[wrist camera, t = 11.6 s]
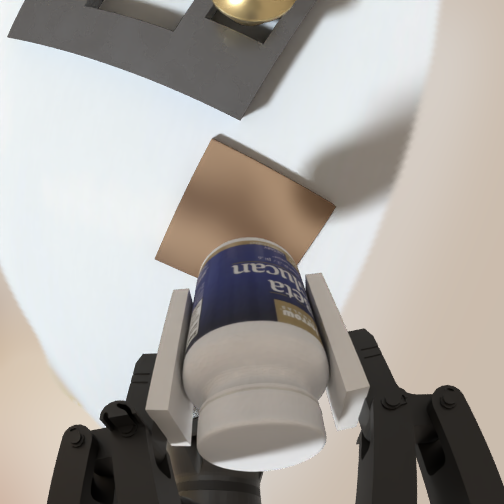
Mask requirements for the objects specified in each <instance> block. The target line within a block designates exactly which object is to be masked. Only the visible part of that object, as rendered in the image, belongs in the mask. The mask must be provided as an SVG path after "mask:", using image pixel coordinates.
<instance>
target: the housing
mask: <svg viewBox="0 0 504 504" xmlns="http://www.w3.org/2000/svg"><path fill="white" fill-rule="evenodd" d="M102 1H103V0H25V1H24V3H23V5H22V7H21V9H20V11H19V13H18V15H17V17H16V19H15V21H14V23H13V25H12V27H11V29H10V32H9V34H8V36H7V37H9V38H14V39H19V40H23V41H28V42H33V43H37V44H41V45H45V46H49V47H53V48H57V49H60V50H64V51H68V52H71V53H74V54H78V55H81V56H84V57H88V58H91V59H94V60H97V61H100V62H103V63H106V64H109V65H112V66H115V67H118V68H120V69H123V70H126V71H129V72H131V73H134V74H137V75H139V76H142V77H145V78H147V79H150V80H152V81H155V82H157V83H160V84H162V85H164V86H167V87H169V88H172V89H174V90H176V91H179V92H181V93H183V94H185V95H188V96H190V97H192V98H194V99H197V100H199V101H201V102H203V103H205V104H207V105H209V106H212V107H214V108H216V109H218V110H220V111H222V112H224V113H226V114H228V115H230V116H232V117H234V118H236V119H238V120H241V118H242V117H243V115H244V113H245V112H246V110H247V108H248V106H249V105H250V103H251V101H252V100H253V98H254V96H255V95H256V93H257V91H258V89H259V88H260V86H261V85H262V83H263V81H264V80H265V78H266V76H267V75H268V73H269V71H270V70H271V68H272V67H273V65H274V63H275V62H276V60H277V59H278V57H279V56H280V54H281V53H282V51H283V49H284V48H285V46H286V45H287V43H288V42H289V40H290V39H291V37H292V36H293V34H294V33H295V31H296V30H297V28H298V27H299V25H300V24H301V22H302V21H303V19H304V18H305V17H306V15H307V14H308V12H309V11H310V9H311V8H312V7H313V5H314V4H315V2H316V1H317V0H296V1H295V3H294V4H293V6H292V7H291V8H290V10H289V11H288V12H287V13H286V14H284V15H283V16H282V17H281V18H280V20H279V21H278V23H277V24H276V26H275V27H274V29H273V30H272V32H271V33H270V35H269V36H268V38H267V39H266V41H265V42H264V44H262V43H260V42H258V41H256V40H254V39H252V38H250V37H248V36H246V35H244V34H242V33H240V32H238V31H235V30H233V29H231V28H229V27H226V26H224V25H222V24H219V23H217V22H214V21H212V20H211V18H212V17H213V15H214V14H215V12H216V11H217V10H218V9H217V8H216V7H215V5H214V4H213V2H212V0H194V2H193V3H192V4H191V6H190V7H189V9H188V10H187V12H186V13H185V15H184V16H183V18H182V20H181V21H180V23H179V24H178V26H177V27H176V29H175V31H171V30H168V29H165V28H162V27H159V26H156V25H153V24H150V23H147V22H144V21H141V20H138V19H134V18H131V17H127V16H124V15H120V14H116V13H112V12H108V11H104V10H100V9H98V8H99V6H100V4H101V3H102Z"/></svg>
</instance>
